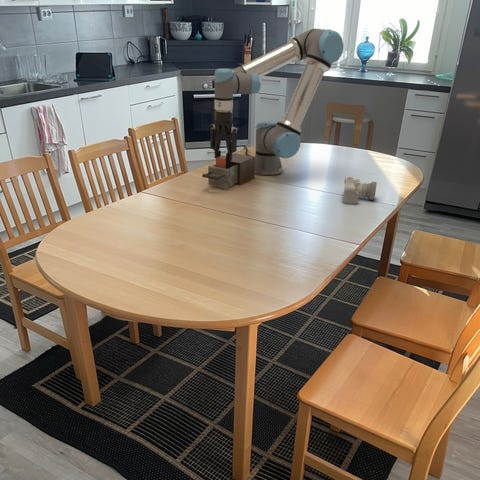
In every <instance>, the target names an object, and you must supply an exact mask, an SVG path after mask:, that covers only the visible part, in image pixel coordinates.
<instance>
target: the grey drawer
mask: <svg viewBox="0 0 480 480" xmlns="http://www.w3.org/2000/svg"><path fill="white" fill-rule="evenodd" d="M201 176H202V178H206V179H207V180H208V181H207V182H208V183H207V184H208V186H215V187H217V188H222V189H230V187H231V186H233V185H236V184H235V183H237V182H239V164H233V163H231V167H230V168H228V169H225V168H220V167H216V163H215V164H212V165H208V166H207V173H202V175H201Z"/></svg>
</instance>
